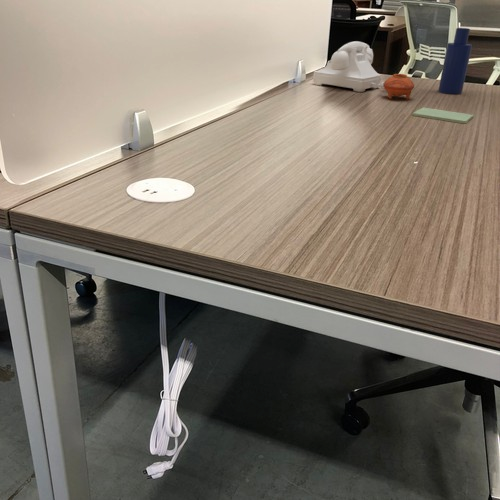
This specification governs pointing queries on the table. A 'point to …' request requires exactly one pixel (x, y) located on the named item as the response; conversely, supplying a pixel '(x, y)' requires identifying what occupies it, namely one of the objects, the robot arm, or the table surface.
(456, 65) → the bottle
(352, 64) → the telephone
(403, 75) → the pot
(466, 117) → the mat
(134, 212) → the table surface
